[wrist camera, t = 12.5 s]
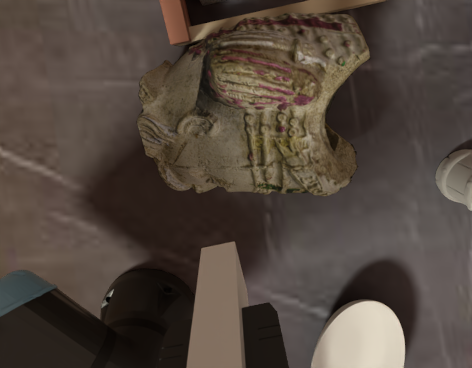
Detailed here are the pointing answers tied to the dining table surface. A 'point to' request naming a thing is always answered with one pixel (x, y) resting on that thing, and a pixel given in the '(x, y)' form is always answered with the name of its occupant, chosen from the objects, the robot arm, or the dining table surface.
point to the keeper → (210, 1)
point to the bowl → (361, 338)
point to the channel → (241, 17)
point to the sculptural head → (254, 107)
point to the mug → (456, 177)
